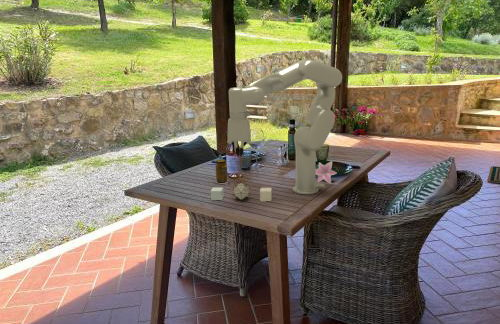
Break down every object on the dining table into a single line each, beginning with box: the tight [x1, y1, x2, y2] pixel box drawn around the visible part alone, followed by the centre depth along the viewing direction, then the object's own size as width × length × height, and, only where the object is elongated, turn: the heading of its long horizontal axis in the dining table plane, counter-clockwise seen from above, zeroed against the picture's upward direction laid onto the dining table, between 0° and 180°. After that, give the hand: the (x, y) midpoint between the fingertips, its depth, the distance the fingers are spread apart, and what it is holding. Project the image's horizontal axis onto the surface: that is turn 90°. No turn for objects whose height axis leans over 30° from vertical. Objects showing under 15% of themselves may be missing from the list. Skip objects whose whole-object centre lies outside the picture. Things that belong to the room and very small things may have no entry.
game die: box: [232, 181, 251, 202], centre depth 184 cm, size 9×8×10 cm
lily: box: [315, 161, 337, 185], centre depth 207 cm, size 12×12×10 cm
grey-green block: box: [210, 187, 225, 201], centre depth 185 cm, size 5×5×5 cm
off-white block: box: [259, 187, 273, 202], centre depth 183 cm, size 5×5×5 cm
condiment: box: [215, 159, 229, 184], centre depth 209 cm, size 7×8×12 cm
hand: (239, 155), depth 179 cm, fingers closed
